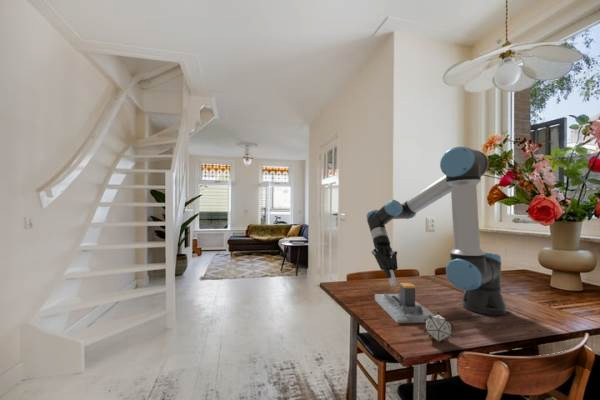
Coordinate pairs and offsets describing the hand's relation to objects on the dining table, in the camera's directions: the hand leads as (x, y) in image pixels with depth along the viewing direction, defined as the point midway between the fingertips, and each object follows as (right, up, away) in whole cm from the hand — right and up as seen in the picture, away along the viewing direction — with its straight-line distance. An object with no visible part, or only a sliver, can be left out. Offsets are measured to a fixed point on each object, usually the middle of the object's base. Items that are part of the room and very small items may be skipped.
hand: (394, 285), depth 122 cm
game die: (+2, -7, -35) cm, 35 cm away
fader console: (0, -7, -10) cm, 12 cm away
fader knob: (0, -4, -15) cm, 15 cm away
